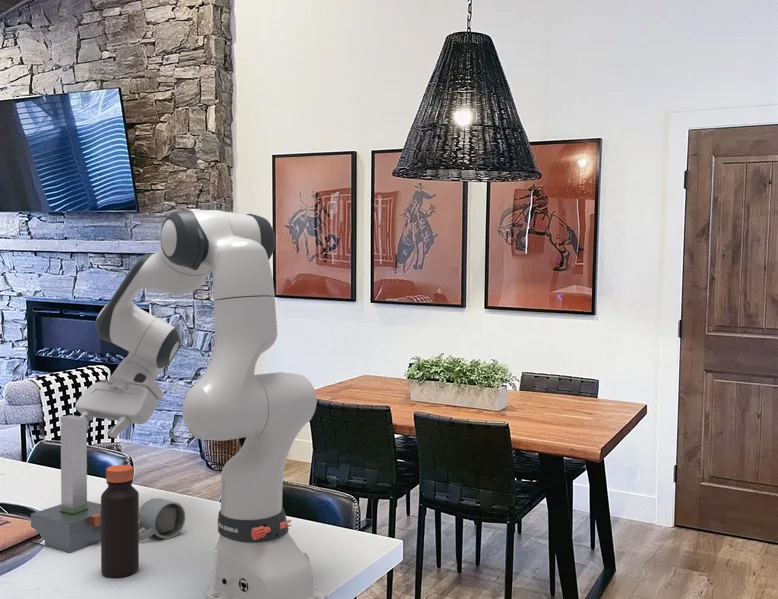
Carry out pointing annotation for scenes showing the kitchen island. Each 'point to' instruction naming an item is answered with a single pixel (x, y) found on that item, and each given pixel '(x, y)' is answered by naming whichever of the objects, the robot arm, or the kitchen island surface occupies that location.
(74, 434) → the column
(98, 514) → the stand sleeve
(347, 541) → the kitchen island surface
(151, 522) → the ceramic mug
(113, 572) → the bottle
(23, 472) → the kitchen island surface
